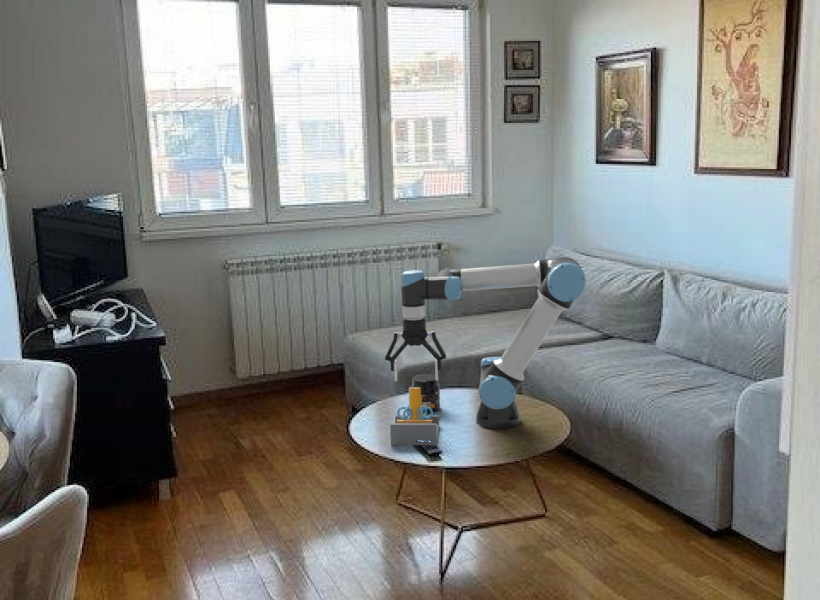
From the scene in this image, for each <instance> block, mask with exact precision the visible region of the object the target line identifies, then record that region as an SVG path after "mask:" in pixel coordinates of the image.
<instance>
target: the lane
mask: <svg viewBox="0 0 820 600" xmlns="http://www.w3.org/2000/svg"><path fill="white" fill-rule="evenodd" d="M406 415H407V414H405V416H406ZM400 416H402V417H403V414H402V415H401V414H400ZM429 416H430V414H428V415H427V414H426V416H425V417H429ZM394 419H395V420H394V421H395V422H394V423H392V422H391V423H389V426H390V427H389V429H390V433H389V434H390V446H437V445H438V440H439V439H438V438H439V437H438V435H439V430H440V429H439V428H440V415H438V414H437V415H434V414H433V416H432V417H431V418H430V419H424V418H423V419H424V420H432V423H397V420H405V419H401V418H399V417H398V415H397V414H396V415H394ZM417 440H429V441H431V442H416V441H417ZM426 443H427V444H426ZM425 444H426V445H425Z"/></svg>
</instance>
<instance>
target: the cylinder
mask: <svg viewBox="0 0 820 600" xmlns="http://www.w3.org/2000/svg"><path fill="white" fill-rule="evenodd" d="M427 409H429V410H430V413H429V415H430V416H429V417H425V416H426V415H427ZM401 410H403V412H402V415H403V417H402V416H400V415H401V414H400V412H401ZM424 410H425V413H423V411H424ZM396 415H398V417H399V418H401V419H405V420H424V419H430V418H431V417H432V416H433V415H434V412H433V410H432V409H431V408H430V407H426V406H424V405H422V406H421V388H420V387H411V386H410V387H408V405H407V407H406V406H400V407H399V408H397V411H396ZM405 415H406V416H405ZM423 418H424V419H423Z"/></svg>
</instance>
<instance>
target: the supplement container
mask: <svg viewBox="0 0 820 600" xmlns="http://www.w3.org/2000/svg"><path fill="white" fill-rule="evenodd" d="M411 380H412V381H411V382H412V385H411V386H410V388H411V387H420V388H421V406H422V405H424V406H426V407H430V408H431V409H432V410H433V413H434V412H437V411H439V410H440V408H441V401H440V400H441V397H440V396H441V395H440V391H441V386H440V384H439V379H438V380H436V377H435V374H431V373H423V374H417V375H414V376H413V377H412V378H411ZM424 413H425V410H424V411H423V414H424ZM427 413H429V414H431V412H430V410H429V409H427Z"/></svg>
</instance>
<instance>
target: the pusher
mask: <svg viewBox="0 0 820 600" xmlns="http://www.w3.org/2000/svg"><path fill="white" fill-rule="evenodd" d="M397 423H432V420H397Z"/></svg>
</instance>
